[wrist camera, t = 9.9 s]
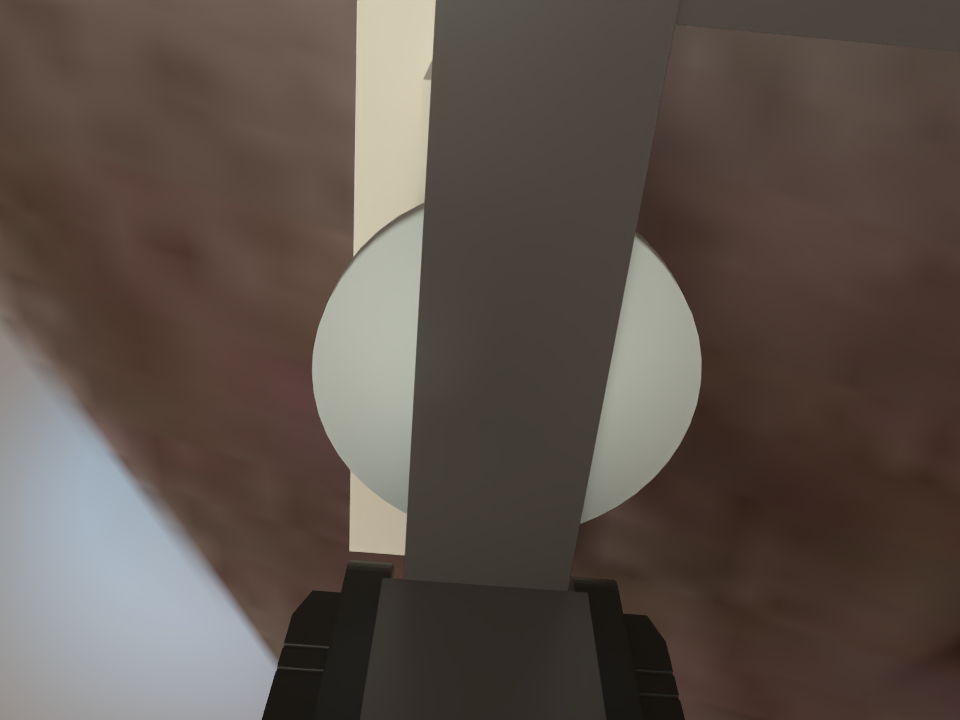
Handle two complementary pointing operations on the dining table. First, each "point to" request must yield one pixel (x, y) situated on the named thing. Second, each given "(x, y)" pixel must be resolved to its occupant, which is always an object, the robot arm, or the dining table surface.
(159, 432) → the dining table surface
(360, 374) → the spectacle frame
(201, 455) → the dining table surface
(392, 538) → the display stand
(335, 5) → the dining table surface
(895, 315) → the dining table surface
